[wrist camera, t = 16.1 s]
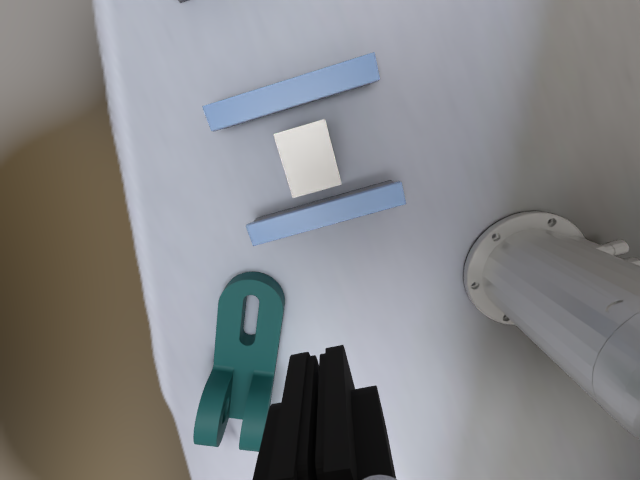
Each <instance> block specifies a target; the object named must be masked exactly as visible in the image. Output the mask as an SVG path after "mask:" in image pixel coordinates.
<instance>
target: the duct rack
mask: <svg viewBox="0 0 640 480" xmlns="http://www.w3.org/2000/svg"><path fill="white" fill-rule="evenodd" d="M178 1H179V2H180V3H182V2H185V1H188V0H178ZM379 80H380V76H379V72H378V67H377V62H376V57H375V53H374V52H373V53H370V54H367V55H364V56H360V57H357V58H354V59H351V60H348V61H345V62H341V63H338V64H335V65H332V66H329V67H326V68H322V69H319V70H316V71H313V72H310V73H306V74H303V75H300V76H297V77H294V78H291V79H287V80H284V81H281V82H278V83H275V84H272V85H268V86H265V87H262V88H259V89H256V90H252V91H249V92H246V93H243V94H240V95H237V96H233V97H230V98H227V99H224V100H221V101H218V102H214V103H211V104H208V105H205V106H202V107H203V110H204V112H205V115H206V118H207V121H208V123H209V126H210V129H211V131H217V130H220V129H223V128H228V127H231V126H235V125H238V124H241V123H244V122H248V121H251V120H254V119H257V118H261V117H264V116H267V115H270V114H274V113H277V112H280V111H283V110H287V109H290V108H293V107H296V106H300V105H303V104H306V103H309V102H313V101H316V100H319V99H322V98H326V97H329V96H332V95H335V94H339V93H342V92H345V91H348V90H352V89H355V88H358V87H361V86H365V85H368V84H370V83H373V82H376V81H379ZM404 204H406V201H405V196H404V191H403V186H402V182H400V181H398V182H393V181H391V180H390V181H386V182H383V183H379V184H375V185H372V186H368V187H365V188H361V189H358V190H354V191H351V192H347V193H344V194H340V195H337V196H333V197H330V198H326V199H322V200H319V201H315V202H312V203H308V204H305V205H301V206H298V207H294V208H291V209H287V210H284V211H280V212H276V213H273V214H269V215H266V216H262V217H259V218H256V219H255V221H254V222H252V223H249V224H247V225H246V228H247V230H248V233H249V236H250V239H251V241H252V244H253V246H256V245H259V244H263V243H266V242H270V241H274V240H277V239H281V238H285V237H288V236H292V235H295V234H299V233H303V232H306V231H310V230H314V229H317V228H321V227H324V226H328V225H332V224H335V223H339V222H343V221H346V220H350V219H353V218H357V217H361V216H364V215H368V214H372V213H375V212H379V211H382V210H386V209H390V208H393V207H397V206H401V205H404Z"/></svg>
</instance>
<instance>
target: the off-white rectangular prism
mask: <svg viewBox="0 0 640 480" xmlns="http://www.w3.org/2000/svg"><path fill="white" fill-rule="evenodd" d="M273 135H274V138H275V142H276V145H277V148H278V151H279V155H280V158H281V161H282V165H283V168H284V171H285V174H286V178H287V181H288V184H289V187H290V191H291V194H292V197H293V198H296V197H299V196H303V195H306V194H310V193H313V192H317V191H321V190H324V189H328V188H331V187H335V186H339V185H342V183H341V179H340V175H339V171H338V167H337V164H336V160H335V156H334V152H333V148H332V144H331V140H330V136H329V132H328V129H327V125H326V121H325V119H323V120H319V121H316V122H313V123H309V124H306V125H302V126H299V127H296V128H292V129H289V130H285V131H282V132H279V133H275V134H273Z"/></svg>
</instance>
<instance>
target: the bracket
mask: <svg viewBox="0 0 640 480" xmlns="http://www.w3.org/2000/svg"><path fill="white" fill-rule="evenodd" d="M247 295H254V296H256V297H257V298H258V299H259V310H258V319H257V327H256V334H254V335H248V334H246V333H245V332H244V329H243V327H244V317H245V308H246V298H247ZM284 305H285V297H284V293H283V290H282V288H281V286H280V285H279V284H278V283H277V282H276V281H275V280H274V279H273V278H272V277H270V276H268V275H266V274H263V273H260V272H245V273H242V274H239V275H237V276H236V277H234V278H233V279H232V280H231V281H230V282H229V283H228V284H227V286H226V288H225V289H224V291H223V293H222V294H221V296H220V299H219V303H218V314H217V327H216V340H215V353H214V365H213V369H212V372H211V374H210V376H209V378H208V380H207V383H206V385H205V388H204V390H203V393H202V396H201V400H200V403H199V407H198V411H197V416H196V421H195V427H194V444H197V445H206V446H214V447H218V446H219V445H220V443H221V440H222V438H223V435H224V432H225V428H226V425H227V422H228V419H229V418H236V419H243V422H242V428H241V434H240V442H239V449H240V450H248V451H257V452H259V450H260V445H261V441H262V436H263V432H264V428H265V423H266V419H267V414H268V410H269V407H270V402H271V395H272V388H273V381H274V374H275V367H276V360H277V354H278V347H279V340H280V333H281V326H282V319H283V312H284Z"/></svg>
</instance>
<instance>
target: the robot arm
mask: <svg viewBox="0 0 640 480" xmlns="http://www.w3.org/2000/svg"><path fill="white" fill-rule="evenodd" d="M493 234H494V235H493ZM492 235H493V236H492ZM628 251H629V246H628V244H627V243H626V242H625V241H624V240H616V241H612V242H608V243H606V244H603V245H599V244H596V243H594V242H591V241H589V240H586V239H585V238H584V235H583V234H582V233H581V231H580V230H579V229H578V228H577V226H575V225H574V224H573V223H571V222H570V221H569V220H567V219H565V218H562V217H560V216H558V215H554V214H551V213H548V212H540V211H530V212H521V213H518V214H514V215H511V216H508V217H506V218H504V219H502V220H500V221H498V222H497V223H495V224H494V225H492V226H491V227H489V228H488V229H487V230H486V231H485V232H484V233H483V234H482V235H481V236H480V237H479V238H478V240H477V241H476V242H475V243H474V245H473V246H472V248H471V250H470V252H469V254H468V256H467V260H466V263H465V266H464V285H465V289H466V292H467V295H468V297H469V298H470V300H471V302H472V303H473V304H474V305H475V306H476V308H477V309H478V310H479V311H480V312H481V313H483V314H484V315H485V316H486V317H488V318H490V319H492V320H494V321H496V322H499V323H503V324H509V325H516V326H517V327H518V328H519V329H521V330H522V331H523V332H524V333H525V334H526V335H527V336H528V337H529V338H530V339H531V340H532V341H533V342H534V343H535V344H536V345H537V346H538V347H539V348H540V349H541V350H543V351H544V352H545V353H546V354H547V355H548V356H549V357H550V358H551V359H552V360H553V361H554V362H555V363H556V364H557V365H558V366H559V367H560V368H561V369H562V370H563V371H565V372H566V373H567V374H568V375H569V376H570V377H571V378H572V379H573V380H574V381H575V382H576V383H577V384H578V385H579V386H580V387H581V388H582V389H583V390H584V391H585V392H587V393H588V394H589V395H590V396H591V397H592V398H593V399H594V400H595V401H596V402H597V403H598V404H599V405H600V406H601V407H602V408H603V409H604V410H605V411H606V412H607V413H608V414H610V415H611V416H612V417H613V418H614V419H615V420H616V421H617V422H618V423H619V424H620V425H621V426H622V427H624V428H625V429H626V430H627V431H628V432H629V433H631V434H632V435H633V436H635V437H636V438H638V439H639V440H640V260H638V259H637V258H634V257H630V258H626V259H621V258H619V257H616V256H617V255H621V254H625V253H627V252H628ZM472 283H473V284H472ZM253 480H397V479H396V476H395V470H394V465H393V460H392V455H391V450H390V445H389V440H388V435H387V430H386V425H385V421H384V416H383V411H382V407H381V403H380V398H379V394H378V390H377V386H371V387H365V388H360V389H355V387H354V383H353V380H352V376H351V372H350V368H349V364H348V360H347V356H346V352H345V349H344V346H343V345H340V346H335V347H330V348H326V353H325V354H320V363H319V364H318V361H317V358H316V356H315V355H314V356H310V354H309V352H304V353H299V354H294V355H291V356H290V359H289V365H288V370H287V376H286V381H285V387H284V392H283V398H282V403H276V404H272V405H271V406H270V407H269V410H268V414H267V419H266V423H265V428H264V432H263V436H262V441H261V445H260V450H259V454H258V458H257V463H256V467H255V472H254V476H253Z"/></svg>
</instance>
